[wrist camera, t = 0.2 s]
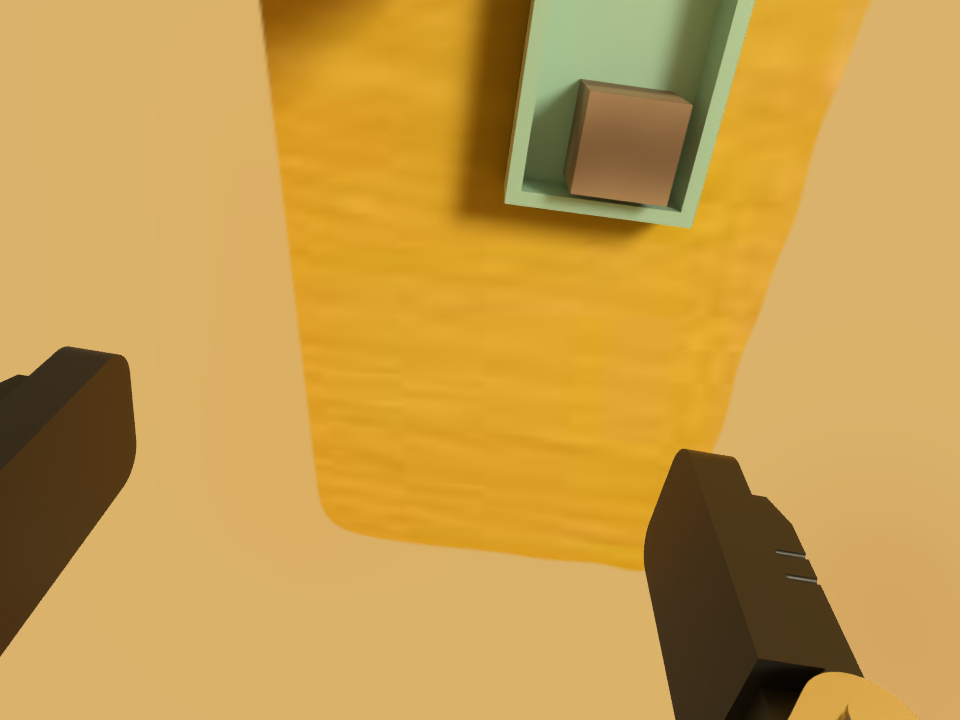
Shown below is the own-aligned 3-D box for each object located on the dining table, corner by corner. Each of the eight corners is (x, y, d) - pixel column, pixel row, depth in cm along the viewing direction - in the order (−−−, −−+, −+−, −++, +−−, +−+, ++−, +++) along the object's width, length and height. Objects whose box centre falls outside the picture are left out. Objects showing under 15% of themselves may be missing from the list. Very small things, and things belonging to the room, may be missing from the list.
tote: (553, -153, 31) (559, -165, 28) (763, -120, 31) (791, -129, 28) (503, 186, 38) (504, 203, 35) (676, 209, 38) (691, 228, 35)
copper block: (580, 78, 34) (590, 90, 31) (672, 91, 35) (692, 105, 31) (563, 172, 37) (570, 193, 33) (650, 184, 37) (666, 206, 33)
